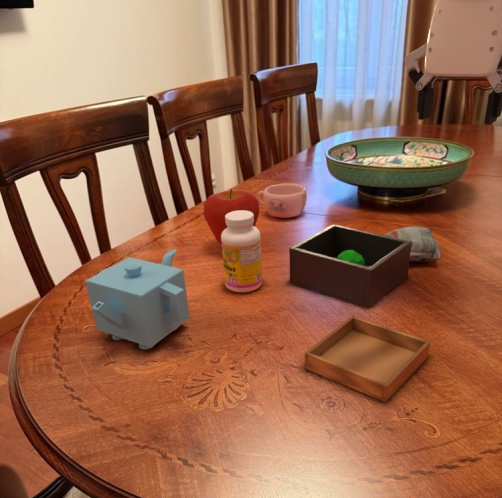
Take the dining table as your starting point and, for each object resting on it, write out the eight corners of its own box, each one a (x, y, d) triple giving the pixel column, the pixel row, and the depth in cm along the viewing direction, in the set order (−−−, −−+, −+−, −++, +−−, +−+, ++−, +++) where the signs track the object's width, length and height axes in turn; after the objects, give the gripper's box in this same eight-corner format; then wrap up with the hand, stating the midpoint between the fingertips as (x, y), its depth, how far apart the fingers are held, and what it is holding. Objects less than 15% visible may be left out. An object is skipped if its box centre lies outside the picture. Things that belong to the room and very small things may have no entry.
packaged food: (390, 269, 94) (393, 243, 91) (382, 244, 104) (385, 220, 101) (440, 269, 93) (444, 243, 90) (427, 243, 103) (430, 219, 100)
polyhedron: (367, 274, 91) (369, 248, 89) (357, 285, 88) (359, 259, 85) (341, 269, 94) (342, 244, 91) (330, 280, 90) (330, 254, 88)
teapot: (69, 346, 77) (49, 277, 71) (149, 295, 90) (138, 233, 84) (149, 375, 70) (135, 302, 64) (224, 315, 83) (218, 249, 77)
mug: (312, 209, 123) (312, 184, 120) (297, 223, 116) (297, 197, 113) (266, 205, 128) (265, 180, 125) (249, 218, 120) (247, 193, 117)
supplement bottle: (219, 281, 93) (213, 212, 86) (254, 274, 95) (250, 205, 88) (232, 297, 88) (226, 224, 81) (268, 288, 90) (265, 217, 83)
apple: (247, 233, 112) (244, 177, 106) (270, 250, 104) (268, 190, 98) (200, 244, 109) (193, 186, 102) (219, 262, 100) (214, 201, 94)
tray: (428, 357, 70) (430, 341, 69) (385, 402, 63) (387, 386, 62) (351, 330, 77) (352, 315, 76) (304, 368, 70) (304, 352, 68)
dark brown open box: (407, 277, 91) (411, 241, 87) (368, 308, 82) (371, 270, 79) (332, 256, 100) (333, 224, 96) (289, 283, 91) (289, 248, 88)
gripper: (558, -29, 64) (527, 119, 73) (424, -17, 74) (411, 112, 83) (540, -30, 59) (510, 129, 68) (399, -16, 69) (389, 121, 78)
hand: (456, 120), depth 75 cm, fingers open, 9 cm apart
